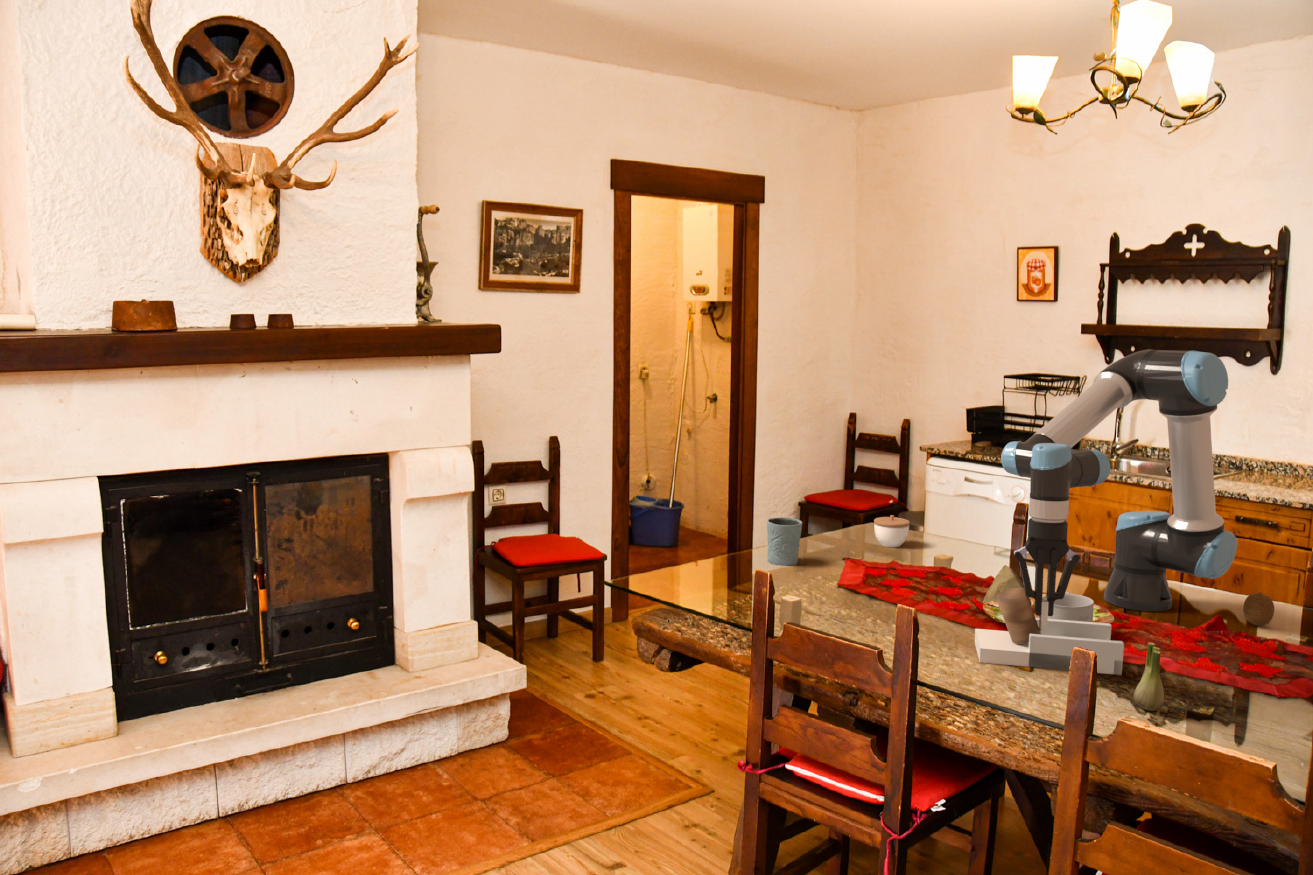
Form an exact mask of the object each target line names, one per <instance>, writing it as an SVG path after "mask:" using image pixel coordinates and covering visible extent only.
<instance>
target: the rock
mask: <svg viewBox="0 0 1313 875" xmlns="http://www.w3.org/2000/svg"><path fill="white" fill-rule="evenodd" d="M1018 587H1021V588H1025V587H1024V583H1023V580H1022V579H1020V577H1019V576H1018V575H1017V573H1016V572H1015V571H1014V569H1013V568H1011V567H1009V566H1008V565H1003V566H1002V568H1001V570H999V572H998V573H997V574H996V576H995V578H994V579H993V581H992V583H991V584H990V587H988V589H987V592H986V594H985V596H984V598H983V601H982V604H983V603H986V602H991V601H993V602H997V603H998V601H997V598H996V596H997V594H999V593H1000V592H1002V591H1005V590H1008V589H1012V588H1018ZM1028 599H1029V602H1030V604H1031V605H1032V600H1031V597H1028Z"/></svg>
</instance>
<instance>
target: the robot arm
mask: <svg viewBox="0 0 1313 875" xmlns="http://www.w3.org/2000/svg"><path fill="white" fill-rule="evenodd" d="M1228 389H1229V375H1228V371H1227V368H1226V365H1225V364H1224V362H1223V360H1222V359H1220V358H1219V357H1218V356H1217V355H1216V354H1214V353H1212V352H1204V351H1198V350H1173V349H1172V350H1169V349H1167V350H1166V349H1165V350H1164V349H1163V350H1162V349H1143V350H1139V351H1135V352H1133V353H1130V354H1128V355H1126V356H1124V357H1121V358H1120V359H1118V360H1116V361H1115V362H1112V363H1111V364H1110V365H1108V366H1107V367H1105V368H1104V369H1103V370H1101V371H1099V373H1098V374H1096V376H1095V377H1094V378H1093V381H1092V385H1091V386H1089V387H1088V388H1087V389H1085V390H1084V392H1082V393H1081V394H1080V395H1079V396H1077V397H1076V398H1075V399H1074V400H1073V401H1072V402H1070V403H1069V404H1068V405H1067V406H1066V407H1064V408H1063V409H1062V410H1061V411H1059V413H1057V414H1056V415H1055V416H1054V417H1053V418H1051V419H1050V420H1049V421H1048V422H1047V423H1045V425H1043V426H1042V427H1041V428H1040V429H1039V430H1037V431H1036V432H1035V433H1034V434H1033V435H1031V437H1029V438H1028V439H1027V440H1026V441H1022V440H1018V441H1016V440H1015V441H1010V442H1008V443H1007V444H1006V445H1005V446H1004V448H1003V450H1002V452H1001V455H1000V456H1001V458H1000V461H1001V462H1000V463H1001V465H1002V468H1003V470H1004V471H1005V472H1006V473H1008V474H1011V475H1015V476H1018V477H1021V478H1027V479H1030V484H1029V485H1030V489H1029V491H1030V493H1029V506H1028V516H1029V517H1030V518H1029V519H1028V520H1027V521H1028V522H1027V523H1028V524H1027V539H1026V541H1025V543H1024V546H1023V547H1021V548H1019V549H1014V550H1013V554H1014V556H1015V558H1016V559H1017V561H1018V565H1019V569H1020V573H1021V577H1022V582H1023V584H1024V587H1025V591H1026V594H1027V596H1028V597H1029V598H1030V599H1033V600H1034V609H1033V613H1034V615H1035V616H1038V618H1039V630H1040V632H1041V633H1047V623H1048V616H1053V611H1054V602H1055V600H1058V599H1063V598H1064V595H1065V592H1067V590H1068V589H1067V588H1068V587H1069V583H1070V579H1071V577H1072V575H1073V572H1074V568H1075V567H1076V565H1077V564H1078V562H1079V561H1080V560H1081V556H1080V555H1079V554H1078V553H1077V552H1074V551H1073V550H1072V549H1070V545H1069V544H1068V527H1069V526H1068V525H1069V523H1068V521H1067V520H1068V518H1069V509H1070V508H1069V504H1070V490H1071V489H1074V488H1082V487H1084V488H1085V487H1089V488H1090V487H1093V486H1096V485H1101V484H1102V483H1104V482H1105V481H1106V480H1107V479H1108V477H1109V476H1110V474H1111V463H1110V462H1111V461H1110V460H1109V458H1108V456H1107V455H1106V454H1105V453H1104V452H1102V451H1100V450H1097V449H1083V450H1081V449H1080V450H1079V449H1073V447H1074V446H1075V445H1076V444H1078V443H1079V442H1080V441H1081V440H1083V438H1084V437H1086V436H1087V434H1089V433H1090V432H1092V431H1093V430H1094V429H1095V428H1096V427H1097V426H1098V425H1099V424H1101V423H1102V422H1103V421H1104V420H1105V419H1106V418H1107V417H1108V416H1110V415H1111V414H1112V413H1113V412H1114V411H1116V410H1117V409H1119V408H1120V409H1121V408H1124V407H1127V406H1128V405H1129V404H1130V403H1132V402H1134V401H1139V400H1149V401H1157V402H1158V411H1159V413H1160V414H1161V416H1163V417H1165V418H1166V420H1167V436H1168V445H1169V447H1168V449H1169V462H1170V474H1171V475H1170V478H1171V492H1172V504H1173V505H1172V506H1173V514H1172V515H1171V514H1170V513H1169V512H1165V511H1159V510H1158V511H1157V510H1155V511H1154V510H1139V511H1138V510H1137V511H1129V512H1124V513H1122V514H1120V515H1119V516H1118V519H1117V524H1116V528H1115V531H1116V532H1115V535H1116V536H1115V544H1114V548H1115V549H1114V564H1113V571H1112V573H1111V575H1110V577H1109V579H1108V581H1107V584H1106V585H1105V588H1104V594H1103V600H1104V601H1105V602H1106V603H1108V604H1110V605H1113V606H1116V607H1118V608H1121V609H1122V608H1123V609H1127V610H1133V611H1139V612H1164V611H1169V610H1170V609H1172V603H1173V601H1172V600H1173V598H1172V594H1171V591H1170V587H1169V583H1168V579H1167V570H1171V571H1175V572H1178V573H1183V574H1187V575H1191V576H1194V577H1196V578H1206V579H1211V580H1214V579H1218V578H1220V577H1222V576H1224V575H1225V573H1226V572H1228V571H1229V569H1230V568H1231V565H1232V563H1233V562H1234V559H1235V557H1236V553H1237V548H1238V540H1237V537H1236V535H1235V534H1234V533H1233V532H1231V531H1229V530H1225V520H1224V518H1223V517H1222V515H1219V514H1218V513H1217V511H1216V508H1217V507H1216V492H1215V478H1214V460H1213V443H1212V441H1213V440H1212V427H1211V426H1212V424H1211V416H1212V415H1213V413H1215V412H1216V411H1217V410H1218V405H1219V404H1220V403H1222V402H1223V401H1224V400H1225V398H1226V396H1227V390H1228ZM1027 553H1028V554H1029V555H1030V557H1031V558H1032V560H1033V561H1034V565H1035V566H1034V567H1035V568H1034V569H1035V571H1034V590H1033V587H1032V582H1031V578H1030V573H1029V570H1028V565H1027V562H1026V560H1025V559H1027V558H1028V555H1027ZM1065 555H1066V556H1065ZM1064 557H1065V559H1066V562H1065V564H1064V567H1063V569H1062V573H1061V576H1060V578H1059V581H1058V585H1057V588H1056V581H1057V580H1056V579H1057V569H1058V563H1059V562H1060V561H1062V559H1063V558H1064ZM1046 564H1047V579H1046V580H1047V581H1046V594H1045V595H1046V596H1047V599H1044V598H1042V597H1043V596H1044V594H1043V592H1044V588H1043V587H1044V568H1045V565H1046Z"/></svg>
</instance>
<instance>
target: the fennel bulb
mask: <svg viewBox="0 0 1313 875" xmlns="http://www.w3.org/2000/svg"><path fill="white" fill-rule="evenodd" d="M1146 645H1147V646H1146V657H1145V665H1144V666H1145V667H1144V671H1143V674H1142V676H1141V679H1140V681H1139V682H1138V684H1137V686H1136V687H1135V689H1134V693H1133V699H1134V702H1135V704H1136V705H1137V707H1139V708H1140V709H1141V710H1145V711H1150V712H1155V711H1161V709H1162V708H1163V706H1164V702H1165V694H1164V693H1165V692H1164V687H1163V683H1162V679H1161V676H1160V668H1161V667H1160V666H1161V655H1162V654H1161V651H1162V650H1161V649H1160V648H1159V647H1156V646H1157V645H1156V643H1154V642H1147V644H1146Z"/></svg>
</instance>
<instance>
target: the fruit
mask: <svg viewBox="0 0 1313 875" xmlns="http://www.w3.org/2000/svg"><path fill="white" fill-rule="evenodd" d="M1242 610H1243V611H1242V612H1243V615H1244V617H1245V619H1246V621H1248V623H1250V624H1252V625H1253V626H1254V627H1262V626H1265V625H1268V624H1269V623H1270V622H1271V621H1272V619H1273V617H1274V614H1275V605H1274V602H1273V600H1272V598H1271V596H1268V595H1265V594H1264V593H1262V592H1257V593H1251V594H1249V595H1248V596H1247V597H1246V598H1245V600H1244V602H1243V607H1242Z"/></svg>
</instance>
